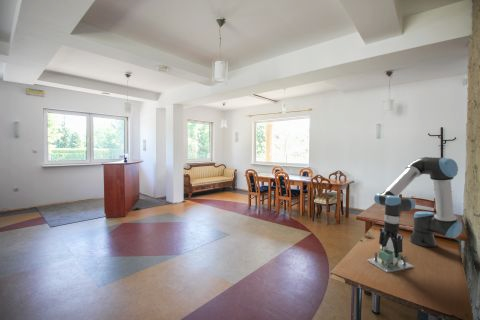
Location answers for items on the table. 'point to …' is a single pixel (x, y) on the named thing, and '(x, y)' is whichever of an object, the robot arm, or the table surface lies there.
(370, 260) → the chassis
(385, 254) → the board
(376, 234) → the table surface
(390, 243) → the mug
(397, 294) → the table surface
